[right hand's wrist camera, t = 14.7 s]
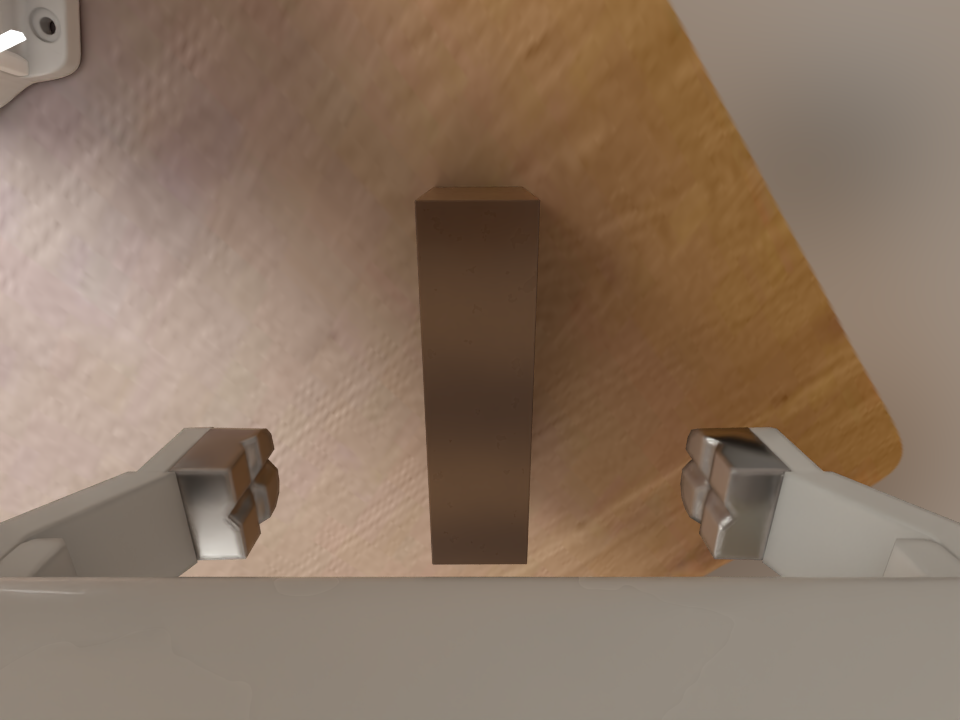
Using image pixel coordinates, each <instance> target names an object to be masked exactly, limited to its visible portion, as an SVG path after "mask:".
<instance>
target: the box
mask: <svg viewBox="0 0 960 720" xmlns="http://www.w3.org/2000/svg"><path fill="white" fill-rule="evenodd" d="M539 215H540V200H539V199H538V198H536V197H535V196H534V195H532V194H531V193H530V192H528V191H527V190H526V189H524V188H523V187H434V188H432V189H431V190H429V191H428V192H427V193H425V194H424V195H422V196H421V197H420V198H418V199H417V200H415V216H416V237H417V258H418V278H419V299H420V320H421V341H422V361H423V382H424V403H425V423H426V444H427V465H428V485H429V506H430V527H431V547H432V564H527V549H528V521H529V494H530V466H531V438H532V410H533V382H534V355H535V327H536V299H537V271H538V243H539Z"/></svg>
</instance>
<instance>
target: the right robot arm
mask: <svg viewBox="0 0 960 720" xmlns="http://www.w3.org/2000/svg"><path fill="white" fill-rule="evenodd" d="M51 21H53V22H54V24H55V27H56V30H55V33H54V34H52V33H51V31H50V23H51ZM80 61H81V42H80V13H79V0H0V108H2V107H3V106H5V105H6V104H7V103H9V102H10V101H11V100H12V99H13V98H14V97H16V96H17V95H18V94H19V93H20V92H21V91H23V90H24V89H25V88H27V87H28V86H30V85H32V84H33V83H37V82H44V81H49V80H55V79H59V78H63V77H66V76H68V75H70V74H72V73H74V72H75V71H76V70H77V68H78V67H79V65H80ZM273 450H274V445H273V440H272V435H271V433H270V432H269V431H268V430H267V429H266V428H214V427H195V428H184V429H183V430H182V431H181V432H180V433H178V434H177V435H176V436H175V437H174V438H173V439H172V440H171V441H170V442H169V443H167V444H166V445H165V446H164V447H163V448H162V449H161V450H160V451H159V452H158V453H156V454H155V455H154V456H153V457H152V458H151V459H150V460H149V461H148V462H147V463H145V464H144V465H143V466H142V467H141V468H140V469H139V470H138V471H137V472H126V473H123V474H121V475H118V476H116V477H113V478H111V479H108V480H106V481H103V482H101V483H98V484H96V485H93V486H91V487H88V488H86V489H83V490H81V491H78V492H76V493H73V494H71V495H68V496H66V497H63V498H61V499H58V500H56V501H53V502H51V503H49V504H46V505H44V506H41V507H39V508H36V509H34V510H31V511H29V512H26V513H24V514H21V515H19V516H16V517H14V518H11V519H9V520H6V521H4V522H1V523H0V720H960V523H959V522H956V521H954V520H951V519H949V518H946V517H944V516H941V515H938V514H936V513H934V512H931V511H929V510H926V509H924V508H921V507H919V506H916V505H914V504H911V503H909V502H906V501H904V500H901V499H899V498H896V497H894V496H891V495H889V494H886V493H884V492H881V491H879V490H876V489H874V488H871V487H869V486H866V485H864V484H861V483H859V482H857V481H854V480H852V479H849V478H847V477H844V476H842V475H839V474H837V473H834V472H823V471H822V470H821V469H820V468H819V467H818V466H817V465H816V464H815V463H814V462H812V461H811V460H810V459H809V458H808V457H807V456H806V455H805V454H804V453H803V452H801V451H800V450H799V449H798V448H797V447H796V446H795V445H794V444H793V443H792V442H791V441H789V440H788V439H787V438H786V437H785V436H784V435H783V434H782V433H781V432H780V431H778V430H777V429H775V428H772V427H756V428H748V427H745V428H704V429H693V430H691V432H690V434H689V436H688V439H687V444H686V450H687V452H688V454H689V455H690V457H691V458H692V460H691V461H690V462H689V463H688V464H687V465H686V466H685V467H684V468H683V469H682V476H681V483H680V485H681V496H682V501H683V504H684V507H685V509H686V511H687V513H688V515H689V517H690V518H692V519H693V520H695V521H697V522H698V523H700V524H701V526H700V531H699V534H700V536H701V537H702V539H703V541H704V542H705V544H706V546H707V548H708V549H709V551H710V553H711V554H712V556H713V558H714V559H737V560H763V563H764V564H765V565H767V566H768V567H769V568H771V569H772V570H774V571H775V572H776V573H778V574H779V575H780V576H782V577H179V576H180V575H181V574H183V573H184V572H185V571H187V570H188V569H189V568H191V567H192V566H193V565H195V564H196V563H197V560H222V559H246V558H247V556H248V554H249V553H250V551H251V549H252V548H253V546H254V544H255V542H256V541H257V539H258V537H259V536H260V534H261V531H260V526H259V524H260V523H262V522H263V521H265V520H267V519H268V518H270V517H271V515H272V513H273V511H274V509H275V507H276V504H277V500H278V495H279V475H278V469H277V468H276V467H275V466H274V465H273V464H272V463H271V462H270V461H269V460H268V458H269V457H270V455H271V454H272V452H273Z"/></svg>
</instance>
